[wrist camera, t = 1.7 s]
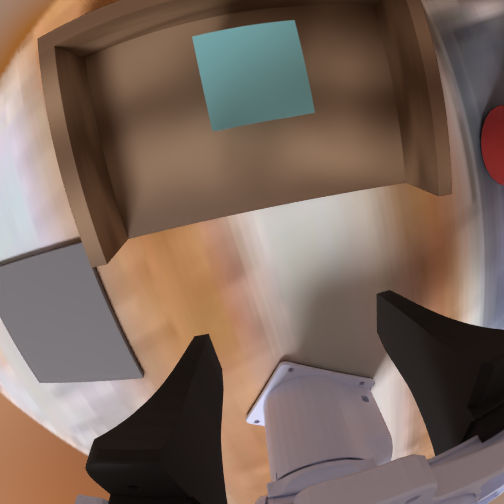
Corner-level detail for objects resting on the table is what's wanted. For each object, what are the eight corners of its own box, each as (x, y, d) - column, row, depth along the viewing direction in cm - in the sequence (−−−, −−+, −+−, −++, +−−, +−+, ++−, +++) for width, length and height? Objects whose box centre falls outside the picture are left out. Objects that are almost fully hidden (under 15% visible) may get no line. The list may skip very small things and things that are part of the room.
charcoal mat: (84, 240, 19) (82, 242, 19) (144, 374, 24) (143, 377, 24) (-18, 271, 20) (-21, 273, 19) (41, 380, 24) (39, 382, 24)
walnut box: (413, 179, 19) (451, 193, 15) (117, 239, 20) (91, 267, 15) (379, -4, 14) (410, -27, 10) (73, 52, 15) (37, 38, 11)
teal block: (288, 117, 17) (315, 112, 11) (219, 130, 17) (212, 131, 11) (274, 52, 15) (294, 19, 10) (204, 65, 15) (192, 36, 10)
